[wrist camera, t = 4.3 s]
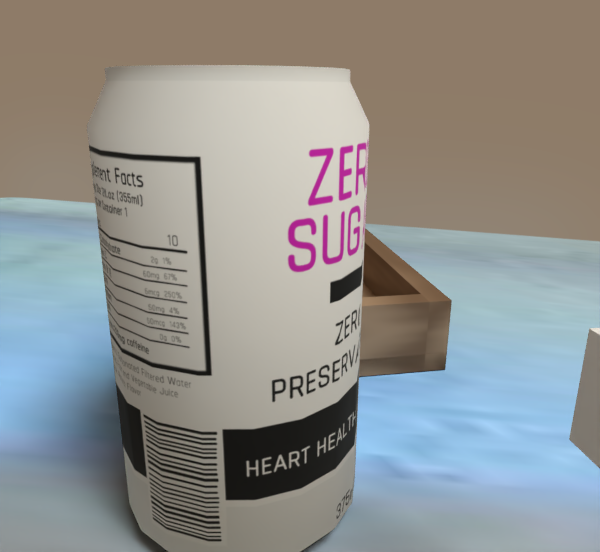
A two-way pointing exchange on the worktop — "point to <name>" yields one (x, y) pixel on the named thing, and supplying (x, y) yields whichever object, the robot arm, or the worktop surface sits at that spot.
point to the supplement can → (233, 296)
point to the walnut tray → (400, 316)
